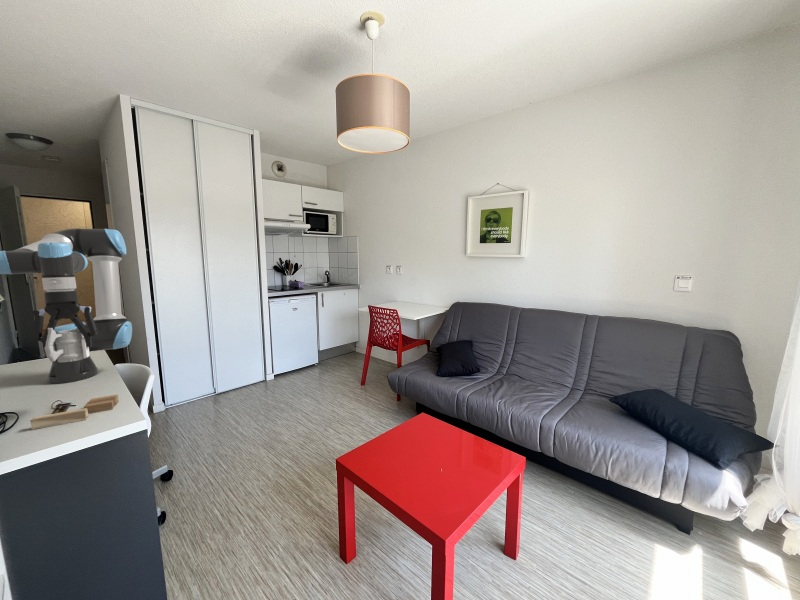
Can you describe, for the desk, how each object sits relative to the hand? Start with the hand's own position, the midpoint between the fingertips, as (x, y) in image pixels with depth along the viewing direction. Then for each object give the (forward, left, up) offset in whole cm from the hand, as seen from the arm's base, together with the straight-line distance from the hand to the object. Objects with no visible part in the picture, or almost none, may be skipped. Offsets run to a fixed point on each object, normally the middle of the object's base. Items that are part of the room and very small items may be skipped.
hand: (70, 358), depth 109 cm
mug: (0, -1, -1) cm, 1 cm away
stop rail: (+13, 0, -17) cm, 21 cm away
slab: (+5, +8, -17) cm, 20 cm away
